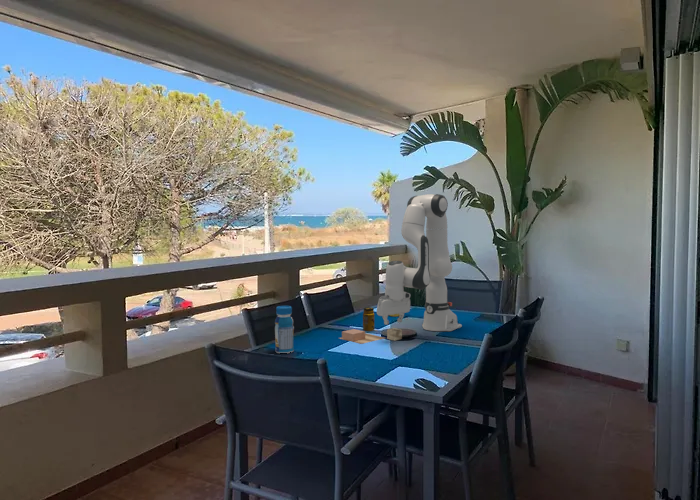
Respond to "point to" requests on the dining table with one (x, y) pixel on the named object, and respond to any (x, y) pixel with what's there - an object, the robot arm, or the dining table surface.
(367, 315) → the condiment
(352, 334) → the terracotta block
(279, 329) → the beverage bottle
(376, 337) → the cork placemat
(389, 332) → the maple cube
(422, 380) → the dining table surface
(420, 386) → the dining table surface
